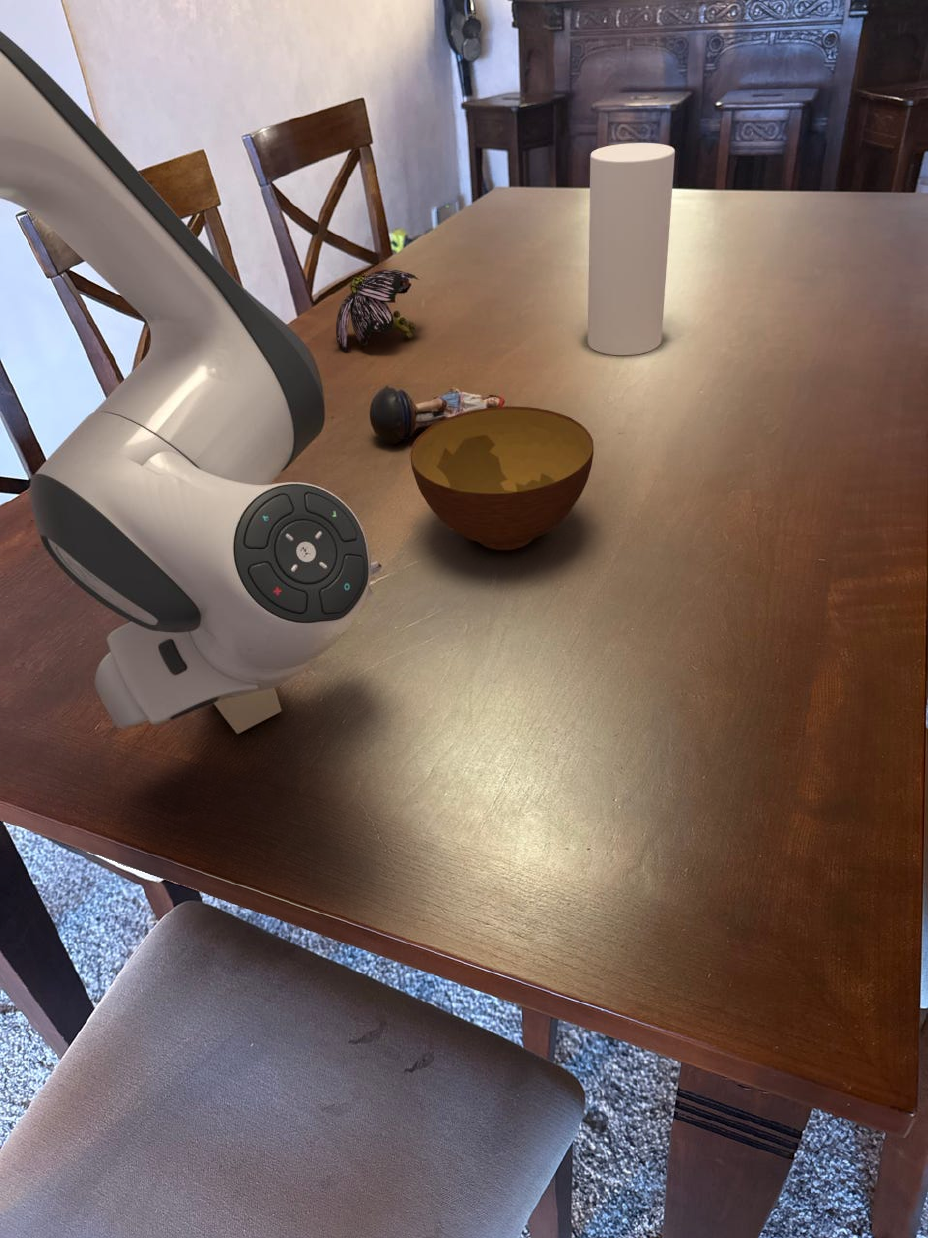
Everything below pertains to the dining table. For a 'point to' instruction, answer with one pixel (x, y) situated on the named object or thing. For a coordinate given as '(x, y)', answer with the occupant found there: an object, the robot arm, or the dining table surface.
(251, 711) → the beige rectangular block
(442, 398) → the figurine
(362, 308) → the decorative flower
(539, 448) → the bowl
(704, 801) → the dining table surface
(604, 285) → the tall pillar cylinder
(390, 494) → the dining table surface
